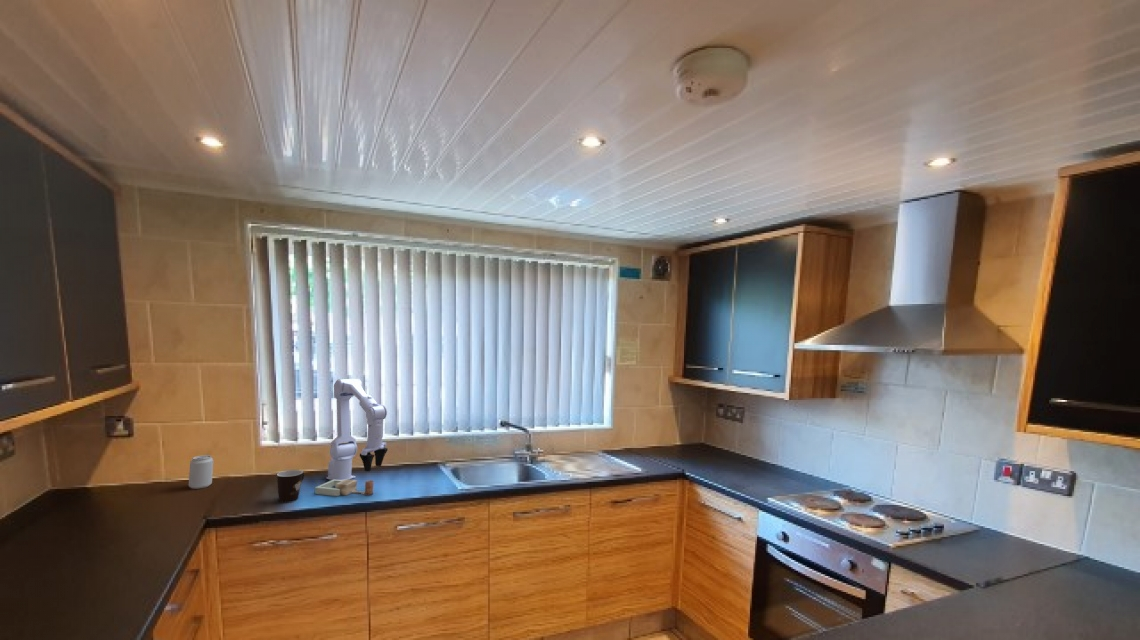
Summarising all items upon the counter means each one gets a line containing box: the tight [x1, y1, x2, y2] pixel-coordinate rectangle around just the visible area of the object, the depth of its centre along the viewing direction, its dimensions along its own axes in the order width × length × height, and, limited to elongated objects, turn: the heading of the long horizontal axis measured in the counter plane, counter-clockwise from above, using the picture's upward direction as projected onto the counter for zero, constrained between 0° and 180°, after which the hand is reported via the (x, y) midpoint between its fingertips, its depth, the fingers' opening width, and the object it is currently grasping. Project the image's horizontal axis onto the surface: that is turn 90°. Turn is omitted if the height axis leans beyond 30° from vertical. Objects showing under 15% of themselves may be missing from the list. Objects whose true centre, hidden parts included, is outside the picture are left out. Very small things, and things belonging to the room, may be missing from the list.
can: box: [188, 454, 214, 490], centre depth 189 cm, size 8×8×12 cm
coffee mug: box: [276, 469, 305, 503], centre depth 180 cm, size 12×9×10 cm
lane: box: [314, 479, 343, 497], centre depth 190 cm, size 10×11×2 cm
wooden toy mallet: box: [335, 479, 374, 496], centre depth 188 cm, size 14×6×5 cm, turn 82°
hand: (373, 468), depth 192 cm, fingers open, 7 cm apart
